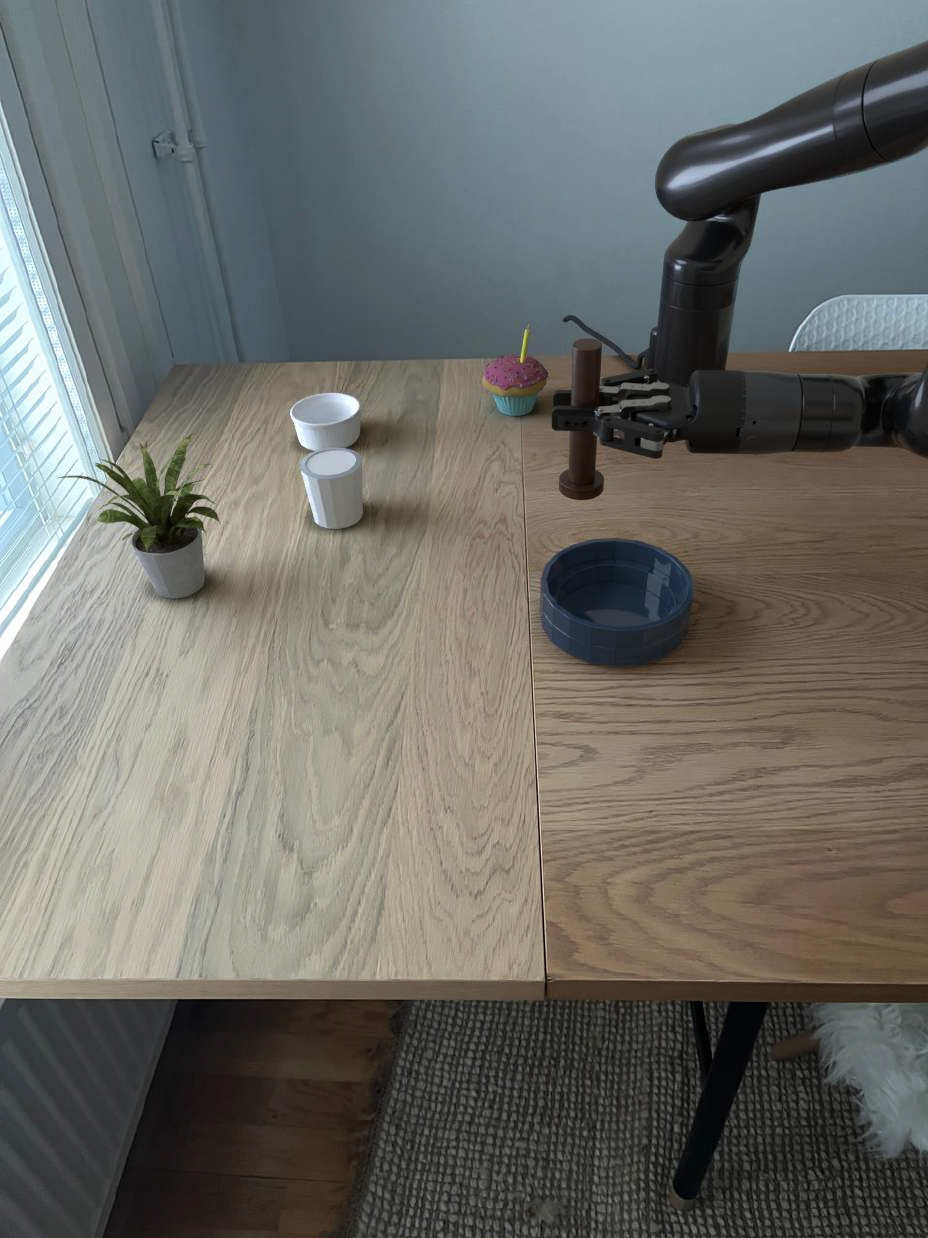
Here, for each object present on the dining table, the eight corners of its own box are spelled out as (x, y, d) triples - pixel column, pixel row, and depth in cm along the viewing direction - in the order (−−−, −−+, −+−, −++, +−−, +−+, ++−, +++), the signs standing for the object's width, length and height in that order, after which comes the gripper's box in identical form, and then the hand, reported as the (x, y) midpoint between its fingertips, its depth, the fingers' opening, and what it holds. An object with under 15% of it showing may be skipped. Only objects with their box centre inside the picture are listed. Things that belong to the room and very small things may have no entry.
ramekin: (282, 449, 121) (277, 418, 118) (316, 417, 127) (311, 387, 124) (344, 460, 118) (340, 429, 115) (375, 427, 124) (372, 397, 122)
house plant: (107, 649, 92) (55, 507, 82) (90, 571, 102) (42, 436, 91) (251, 608, 96) (219, 468, 86) (222, 537, 106) (190, 404, 96)
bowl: (510, 617, 94) (510, 577, 90) (612, 560, 100) (615, 521, 97) (614, 693, 85) (618, 652, 82) (718, 626, 91) (725, 585, 88)
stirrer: (549, 487, 94) (552, 343, 85) (581, 472, 96) (587, 329, 87) (580, 505, 92) (587, 359, 82) (612, 489, 94) (622, 344, 84)
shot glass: (377, 503, 110) (371, 450, 106) (353, 536, 105) (346, 482, 101) (324, 495, 112) (316, 442, 108) (297, 526, 107) (288, 473, 103)
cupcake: (555, 399, 129) (558, 313, 121) (532, 428, 123) (533, 339, 115) (497, 389, 132) (496, 304, 124) (472, 417, 126) (469, 329, 118)
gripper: (738, 341, 90) (555, 340, 92) (758, 411, 79) (550, 408, 81) (728, 413, 95) (554, 411, 96) (744, 488, 84) (549, 484, 86)
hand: (553, 410), depth 89 cm, fingers closed on stirrer, 2 cm apart
